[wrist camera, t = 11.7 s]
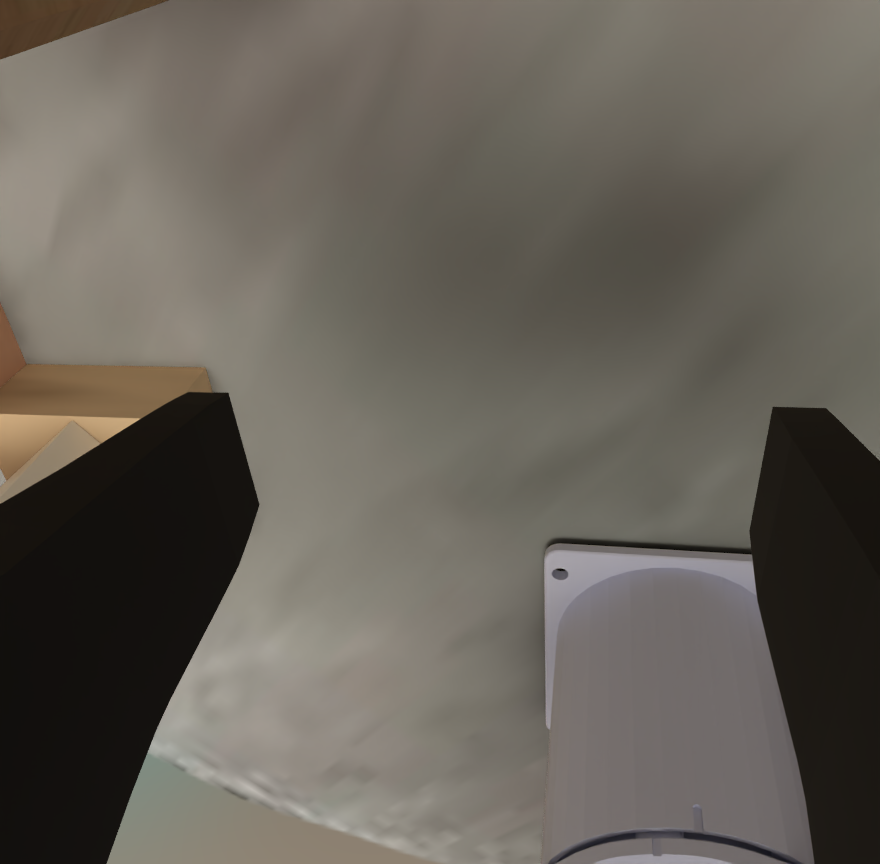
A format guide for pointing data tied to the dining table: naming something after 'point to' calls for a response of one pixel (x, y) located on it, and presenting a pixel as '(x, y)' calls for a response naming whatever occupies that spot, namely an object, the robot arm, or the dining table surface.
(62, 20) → the decorative block
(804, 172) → the dining table surface
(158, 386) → the oak block
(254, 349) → the dining table surface
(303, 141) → the dining table surface
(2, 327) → the terracotta cube
